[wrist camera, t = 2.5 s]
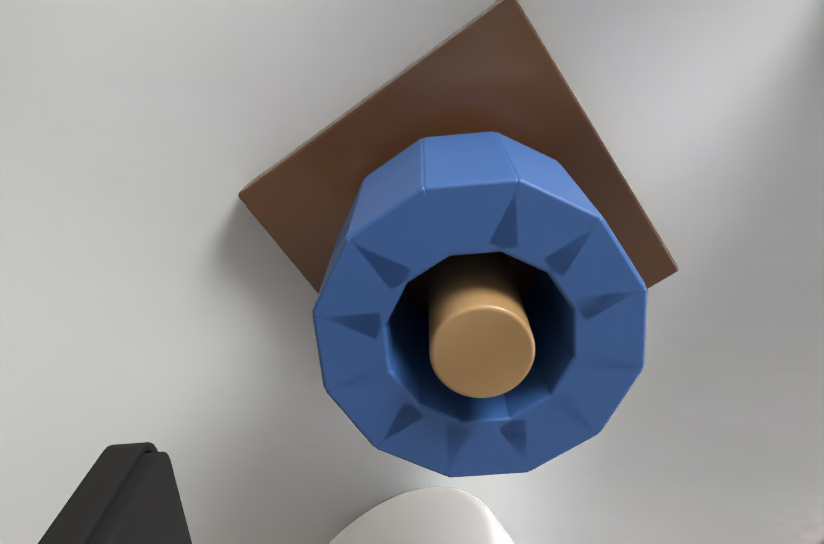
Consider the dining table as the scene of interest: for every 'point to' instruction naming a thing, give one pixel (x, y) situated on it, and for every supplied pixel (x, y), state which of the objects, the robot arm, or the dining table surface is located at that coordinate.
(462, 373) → the dowel stand
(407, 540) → the mug
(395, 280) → the blue hollow cylinder
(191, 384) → the dining table surface
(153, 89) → the dining table surface
